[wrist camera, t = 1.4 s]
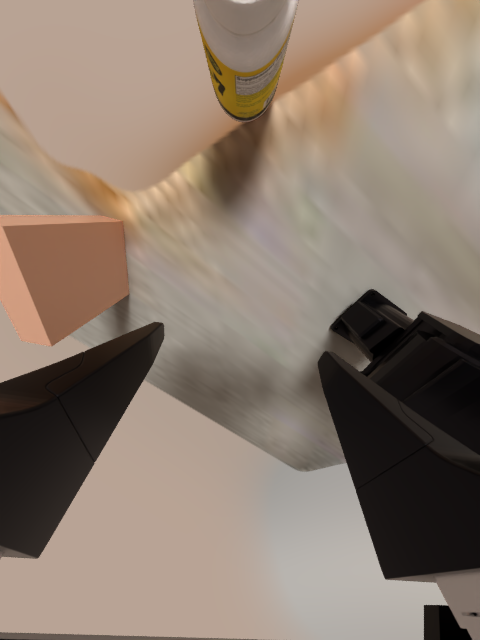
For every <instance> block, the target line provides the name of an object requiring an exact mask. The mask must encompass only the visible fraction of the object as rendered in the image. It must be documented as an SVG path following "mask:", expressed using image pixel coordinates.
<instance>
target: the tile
mask: <svg viewBox="0 0 480 640" xmlns="http://www.w3.org/2000/svg"><path fill="white" fill-rule="evenodd" d="M127 295H129V284H128V273H127V262H126V251H125V240H124V229H123V221H120V220H116V219H112V218H109V217H105V216H80V215H0V300H1V302H2V304H3V306H4V308H5V310H6V312H7V314H8V316H9V318H10V320H11V322H12V324H13V326H14V327H15V329H16V331H17V333H18V335H19V337H20V339H21V341H24V342H30V343H35V344H41V345H46V346H53V345H55V344H56V343H57V342H59V341H61V340H62V339H64V338H65V337H66V336H68V335H69V334H71V333H72V332H74V331H75V330H77V329H78V328H80V327H81V326H83V325H84V324H86V323H87V322H89V321H90V320H92V319H93V318H95V317H96V316H98V315H99V314H101V313H102V312H103V311H105V310H106V309H108V308H109V307H111V306H112V305H114V304H115V303H117V302H118V301H120V300H121V299H123V298H124V297H126V296H127Z"/></svg>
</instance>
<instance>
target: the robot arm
mask: <svg viewBox="0 0 480 640" xmlns="http://www.w3.org/2000/svg"><path fill="white" fill-rule="evenodd" d="M371 293H373V294H372V295H371ZM335 327H336V328H335ZM331 329H332V330H333V331H334V332H336V333H338V334H339V335H341V336H343V337H344V338H346V339H348V340H349V341H351V342H353V343H354V344H356V346H357V347H358V348H359V349H360V350H361V351H362V352H363V354H364V355H365V356H366V357H367V358H368V359H369V360H370V362H371V363H370V364H369V365H368V366H367V367H366V368H365V369H364V370H363V371H360V372H359V371H358V370H356V369H355V368H354V367H352V366H351V365H350V364H348V363H347V362H345V361H344V360H343V359H341V358H340V357H339V356H337V355H336V354H334V353H333V352H329V351H325V352H323V354H322V356H321V357H320V359H319V361H318V368H319V373H320V378H321V383H322V387H323V391H324V394H325V397H326V400H327V403H328V407H329V410H330V413H331V416H332V419H333V422H334V425H335V428H336V431H337V434H338V437H339V440H340V443H341V446H342V450H343V453H344V456H345V459H346V462H347V465H348V468H349V471H350V474H351V477H352V480H353V483H354V486H355V489H356V493H357V496H358V499H359V502H360V505H361V508H362V511H363V514H364V518H365V521H366V524H367V527H368V530H369V533H370V536H371V539H372V542H373V545H374V548H375V551H376V554H377V557H378V561H379V564H380V567H381V570H382V572H383V575H384V577H385V579H387V580H402V581H418V582H435V583H437V584H438V587H439V588H440V590H441V592H442V594H443V596H444V598H445V600H446V602H447V604H448V606H445V605H443V606H442V605H424V640H480V335H479V334H477V333H475V332H473V331H471V330H468V329H466V328H464V327H462V326H460V325H457V324H455V323H452V322H449V321H447V320H444V319H442V318H439V317H436V316H434V315H431V314H429V313H426V312H423V311H422V312H421V313H420V314H419V315H418V317H417V318H416V319H415V320H412V319H411V318H409V317H407V314H406V313H405V312H404V311H403V310H401V309H400V308H399V307H397V306H396V305H395V304H393V303H392V302H391V301H389V300H388V299H387V298H385V297H384V296H383V295H381V294H380V293H379V292H377V291H376V290H374V289H371V290H369V291H367V292H366V293H365V294H364V295H363V296H362V297H361V298H360V299H359V300H358V301H357V302H356V303H355V304H354V305H353V306H352V307H351V308H350V309H348V310H347V311H346V312H345V313H344V314H343V315H342V316H341V317H340V318H339V319H338V320H337V321H336V322H335V323H334V324H333V325H332V326H331ZM163 340H164V324H163V323H160V322H153V323H151V324H149V325H146V326H144V327H141V328H139V329H137V330H134V331H132V332H129V333H127V334H125V335H122V336H120V337H118V338H115V339H113V340H110V341H108V342H106V343H103V344H101V345H98V346H96V347H94V348H91V349H89V350H87V351H85V352H81V353H79V354H77V355H74V356H72V357H69V358H67V359H65V360H62V361H60V362H57V363H54V364H52V365H49V366H46V367H44V368H41V369H38V370H35V371H32V372H30V373H27V374H24V375H21V376H19V377H16V378H13V379H10V380H7V381H4V382H2V383H0V558H1V557H18V558H35V559H36V558H39V556H40V555H41V553H42V551H43V550H44V548H45V546H46V545H47V543H48V542H49V540H50V538H51V536H52V535H53V533H54V531H55V530H56V528H57V526H58V525H59V523H60V521H61V519H62V518H63V516H64V514H65V513H66V511H67V509H68V508H69V506H70V504H71V502H72V501H73V499H74V497H75V496H76V494H77V492H78V491H79V489H80V487H81V486H82V483H83V482H84V480H85V479H86V477H87V475H88V474H89V472H90V470H91V469H92V467H93V465H94V462H95V461H96V460H97V458H98V456H99V455H100V453H101V451H102V450H103V448H104V446H105V445H106V443H107V441H108V439H109V438H110V436H111V434H112V433H113V431H114V429H115V428H116V426H117V424H118V422H119V421H120V419H121V417H122V416H123V414H124V412H125V410H126V409H127V407H128V405H129V404H130V402H131V400H132V399H133V397H134V395H135V393H136V392H137V390H138V388H139V387H140V385H141V383H142V382H143V380H144V378H145V377H146V375H147V373H148V372H149V370H150V368H151V366H152V365H153V363H154V360H155V358H156V356H157V354H158V351H159V349H160V347H161V344H162V342H163ZM0 640H254V639H218V638H182V637H147V636H110V635H74V634H73V635H72V634H37V633H1V632H0ZM255 640H256V639H255Z"/></svg>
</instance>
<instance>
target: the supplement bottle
mask: <svg viewBox="0 0 480 640" xmlns="http://www.w3.org/2000/svg"><path fill="white" fill-rule="evenodd" d="M193 2H194V8H195V13H196V17H197V21H198V26H199V29H200V33H201V37H202V42H203V46H204V50H205V53H206V58H207V62H208V67H209V70H210V75H211V79H212V84H213V87H214V90H215V94H216V96H217V99H218V101H219V103H220V105H221V106H222V108H223V110H224V111H225V112H226V114H228V115H229V116H230V117H231V118H232V119H234V120H236V121H239V122H250V121H253V120H255V119H257V118H258V117H260V116H261V115H262V114H263V113H264V112H265V110H266V109H267V108H268V106H269V105H270V103H271V101H272V99H273V97H274V94H275V91H276V88H277V85H278V80H279V77H280V73H281V69H282V65H283V60H284V57H285V53H286V49H287V45H288V41H289V37H290V33H291V30H292V25H293V22H294V18H295V14H296V10H297V6H298V0H193Z"/></svg>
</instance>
